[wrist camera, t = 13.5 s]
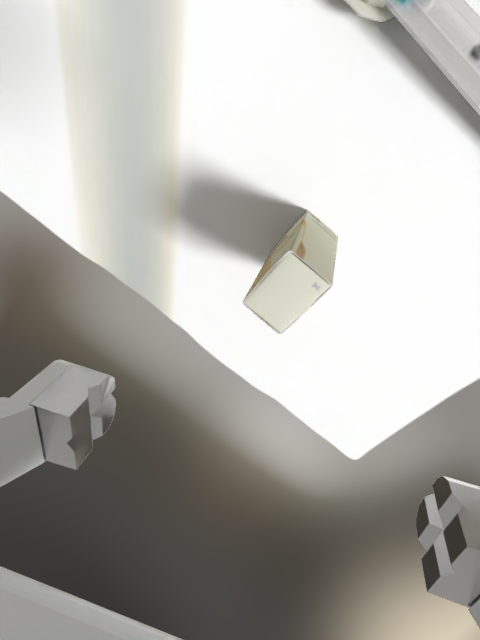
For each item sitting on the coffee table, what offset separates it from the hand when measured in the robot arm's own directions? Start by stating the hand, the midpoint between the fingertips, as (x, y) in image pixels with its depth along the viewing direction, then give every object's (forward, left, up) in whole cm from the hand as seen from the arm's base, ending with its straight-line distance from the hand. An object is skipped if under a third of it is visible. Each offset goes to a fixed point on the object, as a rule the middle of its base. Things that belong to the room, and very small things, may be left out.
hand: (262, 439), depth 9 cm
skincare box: (-1, -5, -31) cm, 32 cm away
